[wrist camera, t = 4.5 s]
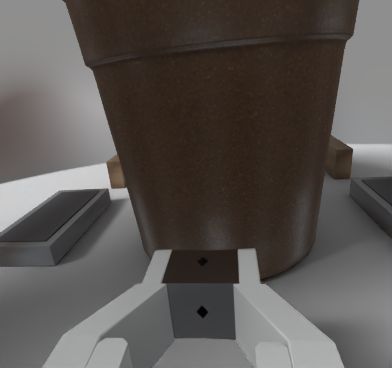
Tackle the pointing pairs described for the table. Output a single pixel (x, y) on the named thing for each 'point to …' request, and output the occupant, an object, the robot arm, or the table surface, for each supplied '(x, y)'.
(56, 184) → the table surface
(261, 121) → the plant pot
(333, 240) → the table surface
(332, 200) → the table surface
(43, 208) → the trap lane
